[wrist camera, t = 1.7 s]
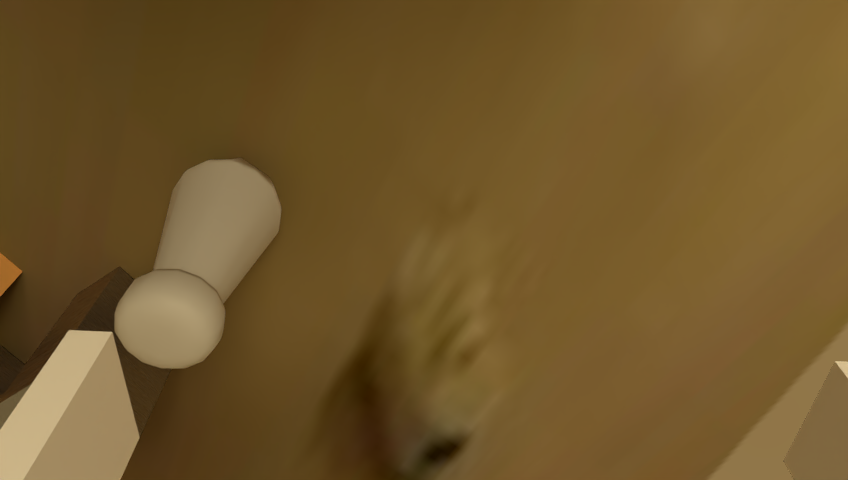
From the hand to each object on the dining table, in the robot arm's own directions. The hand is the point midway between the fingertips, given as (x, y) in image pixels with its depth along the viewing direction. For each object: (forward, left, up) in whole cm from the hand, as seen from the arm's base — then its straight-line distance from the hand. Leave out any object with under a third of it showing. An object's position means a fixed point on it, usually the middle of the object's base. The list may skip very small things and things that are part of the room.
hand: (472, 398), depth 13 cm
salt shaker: (+1, -14, -25) cm, 28 cm away
